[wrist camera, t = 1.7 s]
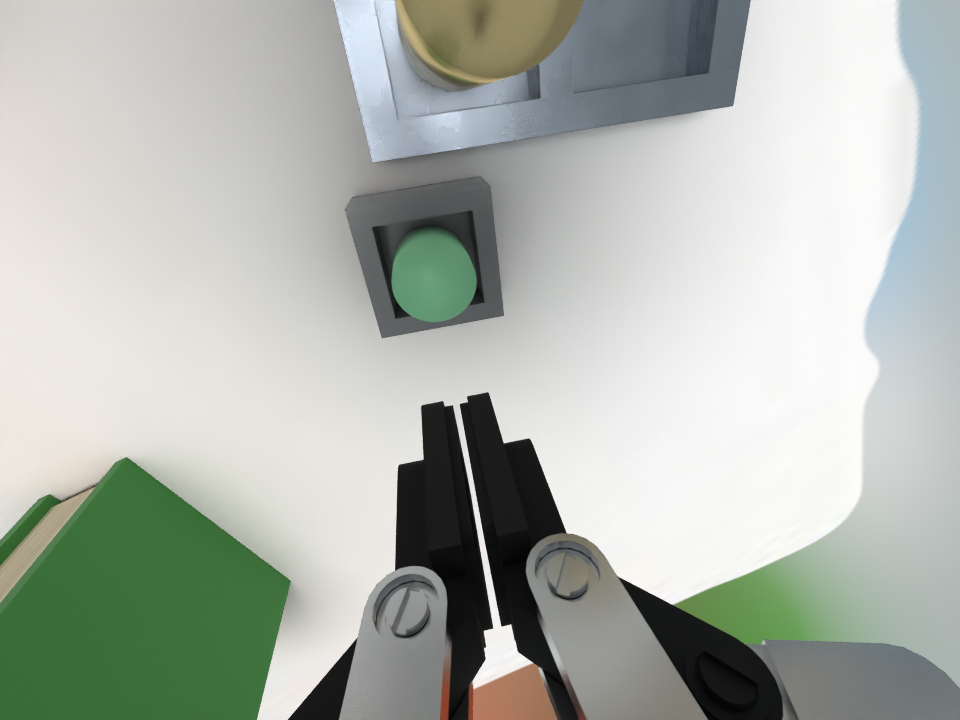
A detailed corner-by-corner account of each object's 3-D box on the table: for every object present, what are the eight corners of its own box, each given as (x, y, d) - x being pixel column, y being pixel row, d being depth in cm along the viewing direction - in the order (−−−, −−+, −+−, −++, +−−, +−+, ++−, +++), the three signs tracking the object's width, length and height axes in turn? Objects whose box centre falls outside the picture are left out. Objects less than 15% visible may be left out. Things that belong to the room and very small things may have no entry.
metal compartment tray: (376, 156, 22) (372, 162, 19) (315, -105, 17) (298, -144, 14) (696, 106, 23) (733, 105, 20) (728, -153, 18) (783, -197, 15)
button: (384, 232, 21) (382, 249, 19) (462, 219, 21) (470, 234, 19) (402, 304, 23) (402, 328, 21) (473, 292, 24) (481, 314, 21)
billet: (384, -44, 17) (364, -194, 9) (503, -59, 17) (596, -218, 9) (410, 99, 20) (414, 90, 11) (513, 83, 20) (592, 64, 12)
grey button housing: (352, 197, 22) (345, 209, 20) (480, 176, 23) (490, 185, 20) (384, 314, 26) (381, 338, 23) (493, 294, 27) (503, 315, 24)
